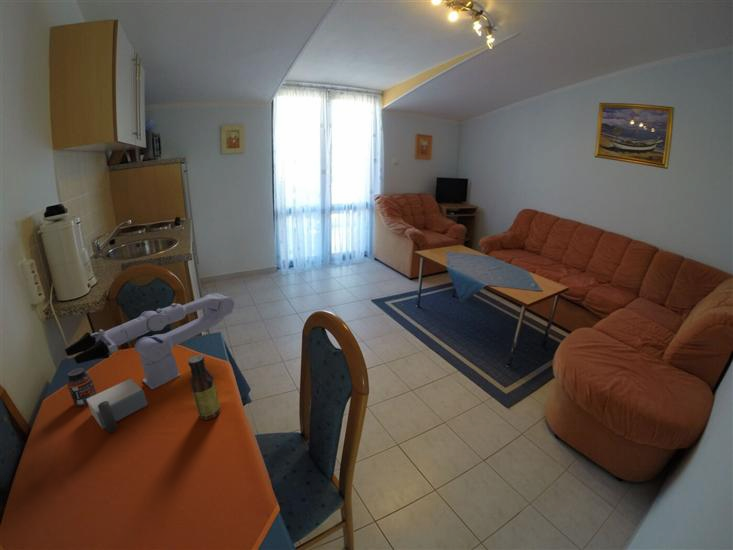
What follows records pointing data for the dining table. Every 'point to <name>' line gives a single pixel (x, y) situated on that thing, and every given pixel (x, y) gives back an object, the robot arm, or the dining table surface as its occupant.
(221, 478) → the dining table surface
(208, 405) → the sauce bottle
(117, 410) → the dark grey door handle
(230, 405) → the dining table surface
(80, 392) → the supplement bottle
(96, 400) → the carton
